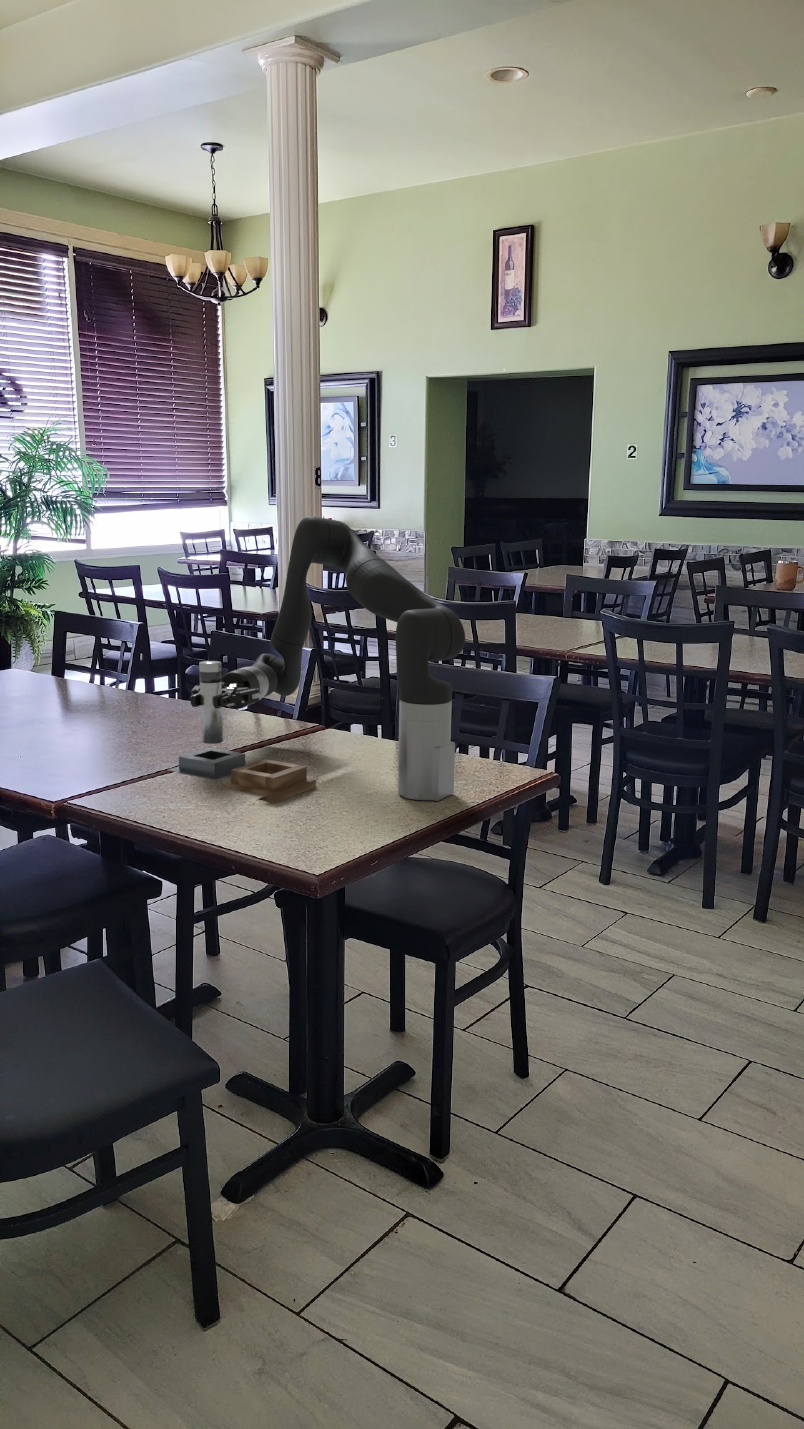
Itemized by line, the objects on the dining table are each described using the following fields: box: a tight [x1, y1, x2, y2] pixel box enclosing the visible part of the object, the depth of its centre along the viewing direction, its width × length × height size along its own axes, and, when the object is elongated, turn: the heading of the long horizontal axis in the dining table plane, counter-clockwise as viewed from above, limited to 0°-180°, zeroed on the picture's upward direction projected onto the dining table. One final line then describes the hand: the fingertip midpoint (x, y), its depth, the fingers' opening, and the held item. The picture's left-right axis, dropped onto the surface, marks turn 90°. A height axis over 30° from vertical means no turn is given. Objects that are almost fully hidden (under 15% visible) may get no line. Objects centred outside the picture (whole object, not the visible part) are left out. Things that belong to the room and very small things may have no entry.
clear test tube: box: [198, 660, 224, 745], centre depth 195 cm, size 4×4×15 cm
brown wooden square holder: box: [221, 758, 317, 804], centre depth 187 cm, size 12×12×4 cm
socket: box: [167, 747, 249, 781], centre depth 198 cm, size 12×12×4 cm
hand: (204, 702), depth 192 cm, fingers closed on clear test tube, 4 cm apart
